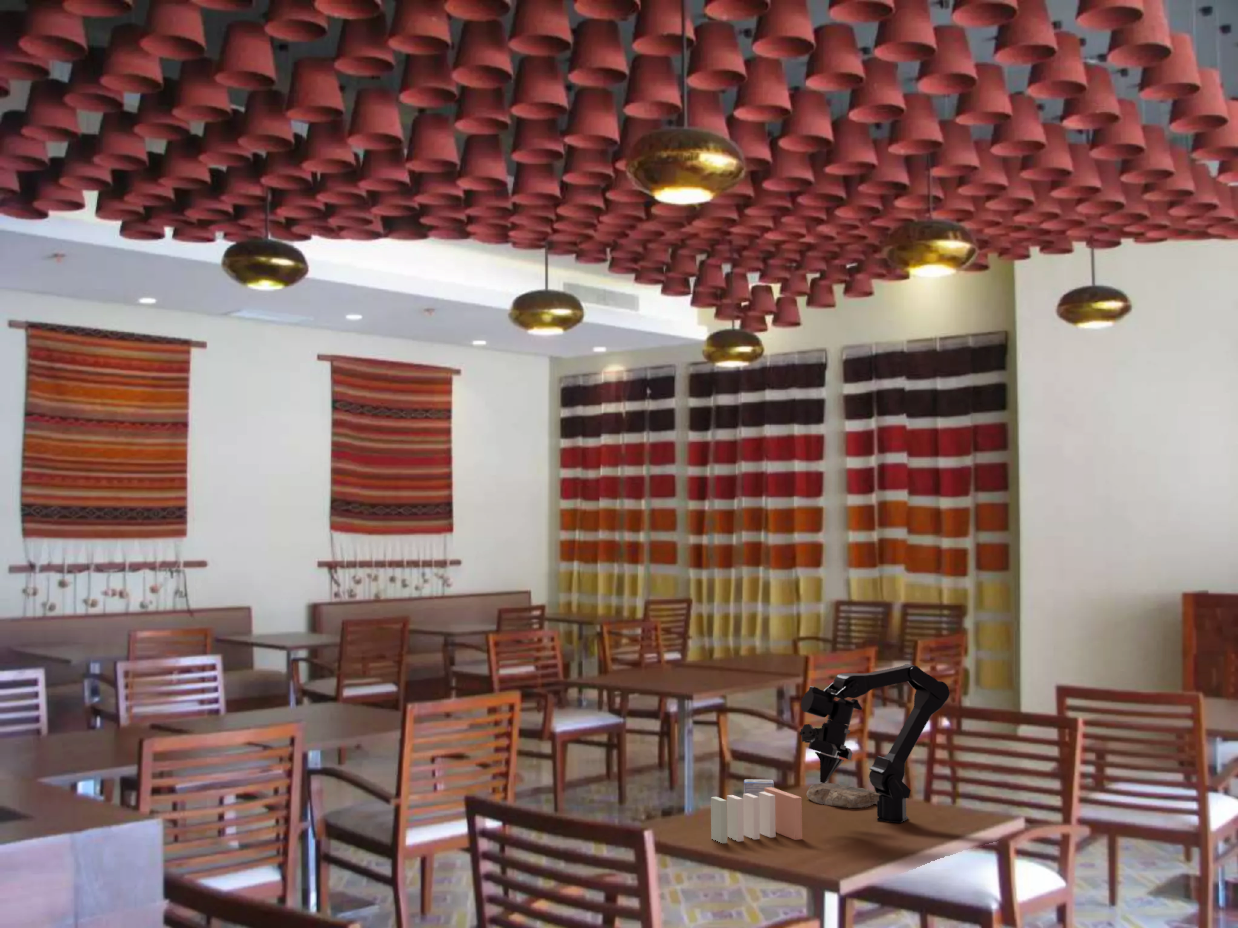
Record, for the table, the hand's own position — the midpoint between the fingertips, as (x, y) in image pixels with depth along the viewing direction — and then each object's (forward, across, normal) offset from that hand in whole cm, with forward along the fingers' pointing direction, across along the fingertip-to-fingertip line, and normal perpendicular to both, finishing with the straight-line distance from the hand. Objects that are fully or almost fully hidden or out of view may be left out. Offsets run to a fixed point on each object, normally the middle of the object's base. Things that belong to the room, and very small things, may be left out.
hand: (822, 782), depth 317 cm
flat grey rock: (+5, -32, -4) cm, 33 cm away
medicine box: (+13, -9, -17) cm, 23 cm away
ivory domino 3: (+16, +12, -6) cm, 21 cm away
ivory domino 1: (+18, +19, -12) cm, 29 cm away
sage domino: (+20, +22, -14) cm, 33 cm away
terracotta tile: (+14, +9, -4) cm, 17 cm away
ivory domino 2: (+17, +16, -9) cm, 25 cm away
